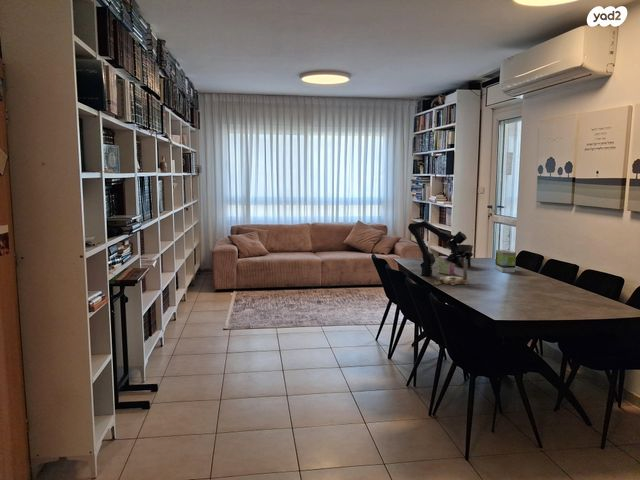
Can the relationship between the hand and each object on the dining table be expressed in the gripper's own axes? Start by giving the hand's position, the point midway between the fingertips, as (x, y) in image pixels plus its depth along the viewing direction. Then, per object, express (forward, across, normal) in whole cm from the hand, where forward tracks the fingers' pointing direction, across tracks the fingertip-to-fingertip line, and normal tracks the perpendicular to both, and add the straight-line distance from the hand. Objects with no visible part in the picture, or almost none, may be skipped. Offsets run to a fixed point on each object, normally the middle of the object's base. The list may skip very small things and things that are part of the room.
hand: (466, 267), depth 322 cm
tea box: (-4, +55, +19) cm, 58 cm away
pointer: (+4, -20, +10) cm, 23 cm away
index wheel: (+4, -7, +10) cm, 13 cm away
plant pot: (-26, +41, +40) cm, 63 cm away
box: (-14, +10, +29) cm, 33 cm away
